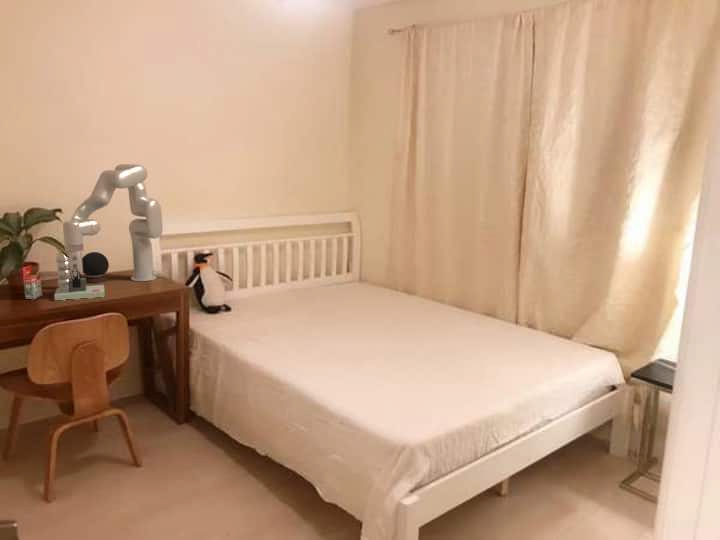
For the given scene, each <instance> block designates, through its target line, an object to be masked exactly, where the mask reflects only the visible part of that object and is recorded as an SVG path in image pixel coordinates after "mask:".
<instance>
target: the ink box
mask: <svg viewBox="0 0 720 540" xmlns="http://www.w3.org/2000/svg"><path fill="white" fill-rule="evenodd" d="M22 277H23V287H24V297H25V300H26V299H31V300H30V301H33V300H34V301H35V299H38V298H40V297H42V296H43V290H42V281H41V275H40V274H33V266H32V264H29V265H27V266H23V267H22Z"/></svg>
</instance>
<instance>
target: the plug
mask: <svg viewBox="0 0 720 540" xmlns="http://www.w3.org/2000/svg"><path fill="white" fill-rule="evenodd" d="M72 279H73V278H72ZM72 279H69V280H68V286H69V292H76V291H86V286H87V283H86V277H81V278H79V279H80V283H81V287H80V288H73V283H72Z"/></svg>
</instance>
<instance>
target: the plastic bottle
mask: <svg viewBox="0 0 720 540" xmlns="http://www.w3.org/2000/svg"><path fill="white" fill-rule="evenodd" d="M64 248H65V246H64ZM57 252H58V253H57V255H56V257H55V262H56V266H57V272H58V273H57V277H58V280H57V286H58V288H64V287H69V286H68V280H69V279H73V277H72V274H71V271H70V265H69V258H68V257H66V256H65V255H64V254H63V253H62V252H61V251H60V250H59V249H58V248H57Z"/></svg>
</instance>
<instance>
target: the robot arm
mask: <svg viewBox="0 0 720 540" xmlns="http://www.w3.org/2000/svg"><path fill="white" fill-rule="evenodd" d="M147 178H148V170H147V168H146V167H145V166H143V165H142V164H128V163H121V164H118V165H117V166H115V168H114V169H106V170H104V171H102V172H101V173H100V175H99V177H98V180H97V181H96V183H95V185H94V188H93V190H92V192H91V194H90V196H89V197H88V198H86V199H85V200H84V201H83V202H82V203H80V204H79V205H78V206H77V208H76V209H75V211H74V212H73V215H72V216H71V218H70V220H66V221H64V222H63V223H62V231H63V241H64V247H65V252H66V253H67V254H68V256H69V265H70V272H71V278H72V283H73V288H80V287H81V283H80V279H79V278H82V274H84V273H83V263H82V258H83V253H82V252H84V239H83V237H84V236H89V237H90V236H95V235H97V234H99V233H100V232H101V228H102V227H101V224H100V222H98V221H97V220H95V219H91V218H89V217H90V216H91V215H92V214H93V213H94V212H96V211H98V210H101V209H102V208H104V207H107V206H108V205H109V203H110V202H111V199H112V198H113V195H114V193H115V192H116V189H127V191H128V200H129V207H130V208H129V209H130V213H131V214H132V215H133V216H135V217H143V218H135V219H132V220H131V221H130V223H129V225H128V231H129V235H130V239H131V240H130V241H131V245H132V246H131V247H132V248H131V249H132V261H133V262H132V265H133V275H132V276H131V277H130V279H131V281H134V282H148V281H154V280H156V279H157V277H158V276H159V275H161V276H162V275H164V273H163V270H155V269H154V261H153V246H152V242H151V241H152V240H153V239H159V238H160V237H161V236H162V234H163V231H164V230H163V229H164V228H163V215H162V207H161V205H160V202H159V201H158V200H157V199H154V198H150V197H149V198H148V194H147V188H146V187H147V186H146V185H145V183H144V182H145V181H146V179H147ZM145 218H146V219H145Z"/></svg>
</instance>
